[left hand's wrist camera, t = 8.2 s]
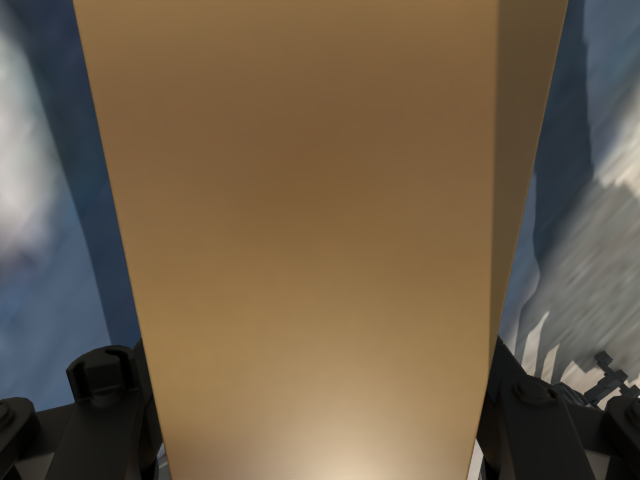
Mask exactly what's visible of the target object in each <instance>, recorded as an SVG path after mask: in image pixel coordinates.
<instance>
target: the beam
mask: <svg viewBox="0 0 640 480" xmlns="http://www.w3.org/2000/svg"><path fill="white" fill-rule="evenodd" d="M568 1H569V0H73V5H74V10H75V15H76V20H77V25H78V30H79V34H80V39H81V44H82V49H83V54H84V59H85V64H86V69H87V73H88V78H89V83H90V88H91V93H92V98H93V103H94V107H95V112H96V117H97V122H98V127H99V132H100V137H101V141H102V146H103V151H104V156H105V161H106V166H107V171H108V176H109V180H110V185H111V190H112V195H113V200H114V205H115V210H116V214H117V219H118V224H119V229H120V234H121V239H122V244H123V248H124V253H125V258H126V263H127V268H128V273H129V278H130V283H131V287H132V292H133V297H134V302H135V307H136V312H137V317H138V321H139V326H140V331H141V336H142V341H143V346H144V351H145V355H146V360H147V365H148V370H149V375H150V380H151V385H152V390H153V394H154V399H155V404H156V409H157V414H158V419H159V424H160V428H161V433H162V438H163V443H164V448H165V453H166V458H167V462H168V467H169V472H170V477H171V480H467V477H468V472H469V468H470V463H471V458H472V454H473V449H474V444H475V439H476V435H477V430H478V425H479V421H480V416H481V411H482V406H483V402H484V397H485V392H486V388H487V383H488V378H489V373H490V369H491V364H492V359H493V355H494V350H495V345H496V341H497V336H498V331H499V326H500V322H501V317H502V312H503V308H504V303H505V298H506V293H507V289H508V284H509V279H510V275H511V270H512V265H513V260H514V256H515V251H516V246H517V242H518V237H519V232H520V227H521V223H522V218H523V213H524V209H525V204H526V199H527V194H528V190H529V185H530V180H531V176H532V171H533V166H534V161H535V157H536V152H537V147H538V143H539V138H540V133H541V128H542V124H543V119H544V114H545V110H546V105H547V100H548V96H549V91H550V86H551V81H552V77H553V72H554V67H555V63H556V58H557V53H558V48H559V44H560V39H561V34H562V30H563V25H564V20H565V15H566V11H567V6H568Z"/></svg>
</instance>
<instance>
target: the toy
mask: <svg viewBox="0 0 640 480" xmlns="http://www.w3.org/2000/svg"><path fill="white" fill-rule="evenodd" d="M595 358H596V359H597V361H598V363H597V364H598V365H599V366H600V367H601V368H602V369H603V370H604V371H605V372H606V373H605V374H604V375H605V377H604V378H602V379H601V380H600V381H598V384H597V385H596V386H594V387H593V388H591V389H590V390H588V391H587V392H585V393H584V396H583V395H582V394H581V393H579V392H577V391H575V390H573V389H571V388H570V387H569V386H567V385H566V384H564V383H562V382H560V383H559V384H555V385H554V386H553V387H554V388H555V389H556V390H557V391H559V392H560V394H561V395H562V397H563V398H564V400H565V401H566V402H569V403H573V404H577V405H581V406H586V407H590V408H594V409H599V410H601V409H600V408H599V407H598V406H597V404H598V403H599V402H600V400H601V399H603V398H604V397H606V396H607V395H608V394H610V393H611V392H612V391H614V390H615V389H616V388H617V387H619V388H621V390H619V391H620V393H621V394H622V395H621V396H623V395H625V396H631V397H637V398H638V396H639V395H640V389H639V388H638V387H637V386H636V385H633V386H632V387H631V388H628V387H627V386H626V385H625V384H624V383H623V382H624V381H625V380H626V379H627V378H628V376H627V375H626V374H625V373H624V372H623V371H622V370H620V371H618V372H617V373H614V372H613V371H612V370H611V369H610V368H609V367H608V365H609V364H610V363H611V362H612V360H613V359H612V358H611V357H610V356H609V355H608V354H607V353H606V352H605V351H604V352H602V353H601V354H599V355H598V356H596V357H595Z"/></svg>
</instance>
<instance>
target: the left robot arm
mask: <svg viewBox="0 0 640 480" xmlns="http://www.w3.org/2000/svg"><path fill="white" fill-rule="evenodd" d="M66 373H67V377H68V380H69V383H70V386H71V390H72V393H73V396H74V399H75V403H72V404H69V405H65V406H61V407H57V408H52V409H48V410H44V411H39V412H36V411H35V408H34V405H33V403H32V402H31V401H30V400H28V399H27V398H21V397H13V398H7V399H2V400H0V480H171V477H170V472H169V467H168V462H167V458H166V454H165V455H164V456H163V457H161V458H160V459H159V460H157V454H158V451H159V449H160V447H161V445H162V443H163V438H162V433H161V428H160V424H159V419H158V414H157V409H156V404H155V399H154V394H153V390H152V385H151V380H150V375H149V370H148V365H147V360H146V355H145V351H144V346H143V341H142V337H141V338H140V340H139V341H138V342H137V346H134V348H133V349H132V350H131V349H130V348H129V347H126V346H121V345H113V346H105V347H101V348H97V349H94V350H92V351H90V352H88V353H85V354H83V355H81V356H80V357H79V358H77V359H76V360H75V361H73V362H72V363H71V364H70V366H69V367H68V368H67V370H66ZM476 439H477V441H478V443H479V446H480V448H481V450H482V452H483V454H484V455H483V460H482V464H481V469H480V473H479V478H478V480H640V398H637V397H631V396H625V395H623V396H614V397H612V398H611V399H610V400H608V401H607V404H606V407H605V410H604V411H603V410H599V409H594V408H590V407H586V406H581V405H577V404H573V403H569V402H566V401H565V400H564V398H563V397H562V395H561V394H560V392H559V391H557V390H556V389H555V388H554V387H553V386H551V385H550V384H549V383H547V382H545V381H543V380H541V379H539V378H537V377H533V376H530V375H527V373H526V372H525V371H524V369H523V368H522V367H521V365H520V364H519V363H518V361H517V360H516V359H515V357H514V356H513V355H512V353H511V352H510V351H509V349H508V348H507V346H506V345H505V344H503V341H502V340H501V338H500V337H499V336H497V341H496V345H495V350H494V355H493V359H492V364H491V369H490V373H489V378H488V383H487V388H486V392H485V397H484V402H483V406H482V411H481V416H480V421H479V425H478V430H477V435H476Z"/></svg>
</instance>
